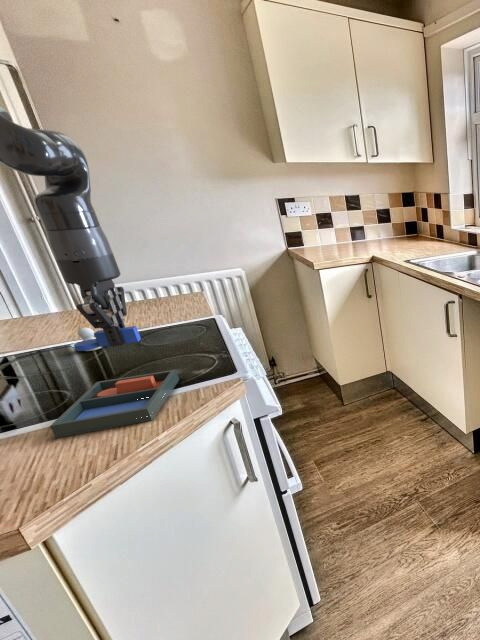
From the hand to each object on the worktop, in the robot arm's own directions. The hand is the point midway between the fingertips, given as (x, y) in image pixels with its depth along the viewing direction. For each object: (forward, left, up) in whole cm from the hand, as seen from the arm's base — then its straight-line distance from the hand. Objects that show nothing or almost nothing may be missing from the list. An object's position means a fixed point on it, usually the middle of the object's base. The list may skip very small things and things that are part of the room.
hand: (120, 342), depth 82 cm
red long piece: (-3, +3, -12) cm, 13 cm away
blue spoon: (-1, 0, 0) cm, 2 cm away
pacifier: (-23, +40, -13) cm, 48 cm away
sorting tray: (-3, -1, -13) cm, 13 cm away
